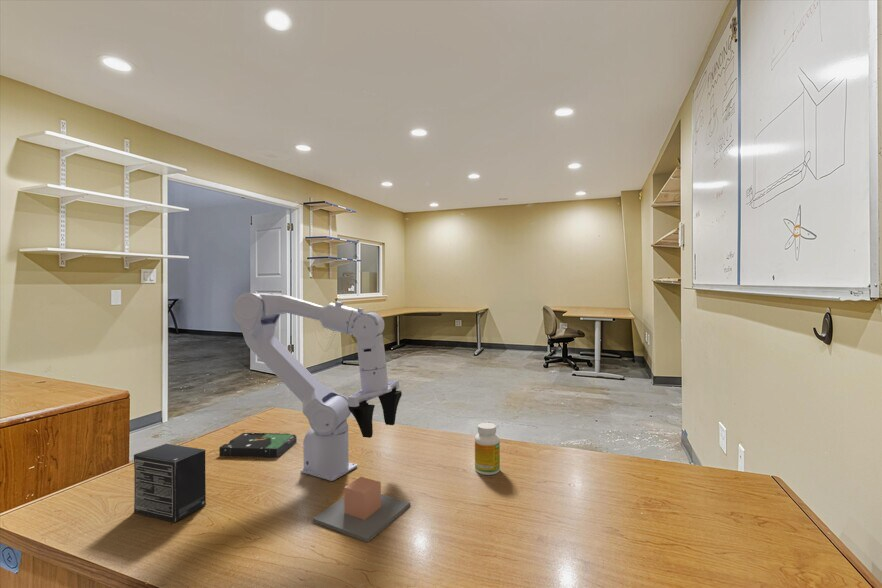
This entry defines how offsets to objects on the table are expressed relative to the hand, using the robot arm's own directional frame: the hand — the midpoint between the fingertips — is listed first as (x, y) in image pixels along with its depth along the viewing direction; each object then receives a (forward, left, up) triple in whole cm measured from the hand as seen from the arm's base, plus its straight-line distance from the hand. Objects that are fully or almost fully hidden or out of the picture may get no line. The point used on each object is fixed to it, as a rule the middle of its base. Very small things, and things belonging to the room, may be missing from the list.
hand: (379, 430), depth 86 cm
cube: (+7, -14, -8) cm, 18 cm away
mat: (+7, -14, -9) cm, 18 cm away
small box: (-25, -29, -9) cm, 39 cm away
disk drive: (-35, -3, -10) cm, 36 cm away
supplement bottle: (+20, +12, -9) cm, 25 cm away
